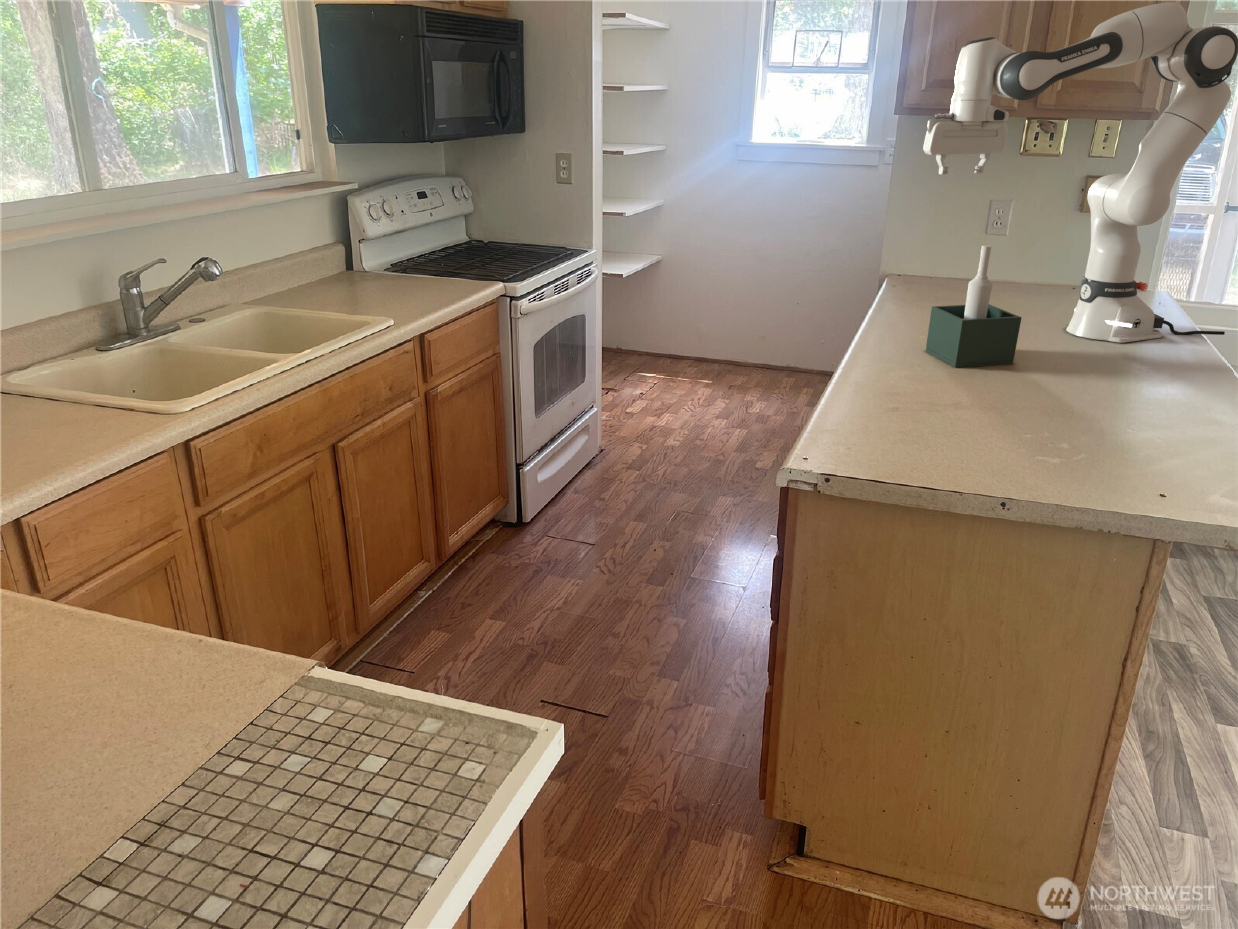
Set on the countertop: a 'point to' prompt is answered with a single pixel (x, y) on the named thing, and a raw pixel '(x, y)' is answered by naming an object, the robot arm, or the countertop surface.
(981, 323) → the bin
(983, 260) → the bottle
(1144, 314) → the robot arm
